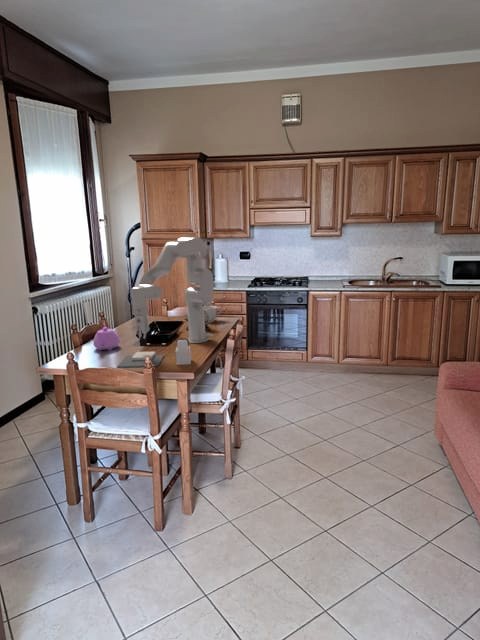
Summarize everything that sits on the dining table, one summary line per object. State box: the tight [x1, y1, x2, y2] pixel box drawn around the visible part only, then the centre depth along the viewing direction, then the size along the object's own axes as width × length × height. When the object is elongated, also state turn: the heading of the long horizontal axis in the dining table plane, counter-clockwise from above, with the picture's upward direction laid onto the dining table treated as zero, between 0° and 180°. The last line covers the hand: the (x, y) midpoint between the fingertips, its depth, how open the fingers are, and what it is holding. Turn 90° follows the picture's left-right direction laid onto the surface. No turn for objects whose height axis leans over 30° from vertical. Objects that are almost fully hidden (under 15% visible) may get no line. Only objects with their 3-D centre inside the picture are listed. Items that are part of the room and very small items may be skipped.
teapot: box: [93, 326, 120, 352], centre depth 248 cm, size 20×14×12 cm
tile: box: [131, 351, 156, 361], centre depth 228 cm, size 10×2×10 cm
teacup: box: [202, 305, 223, 323], centre depth 305 cm, size 12×15×10 cm
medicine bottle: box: [175, 338, 192, 366], centre depth 219 cm, size 7×7×12 cm
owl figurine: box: [183, 310, 212, 333], centre depth 283 cm, size 18×12×17 cm, turn 65°
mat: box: [116, 354, 165, 368], centre depth 224 cm, size 20×17×1 cm
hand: (143, 345), depth 229 cm, fingers closed
